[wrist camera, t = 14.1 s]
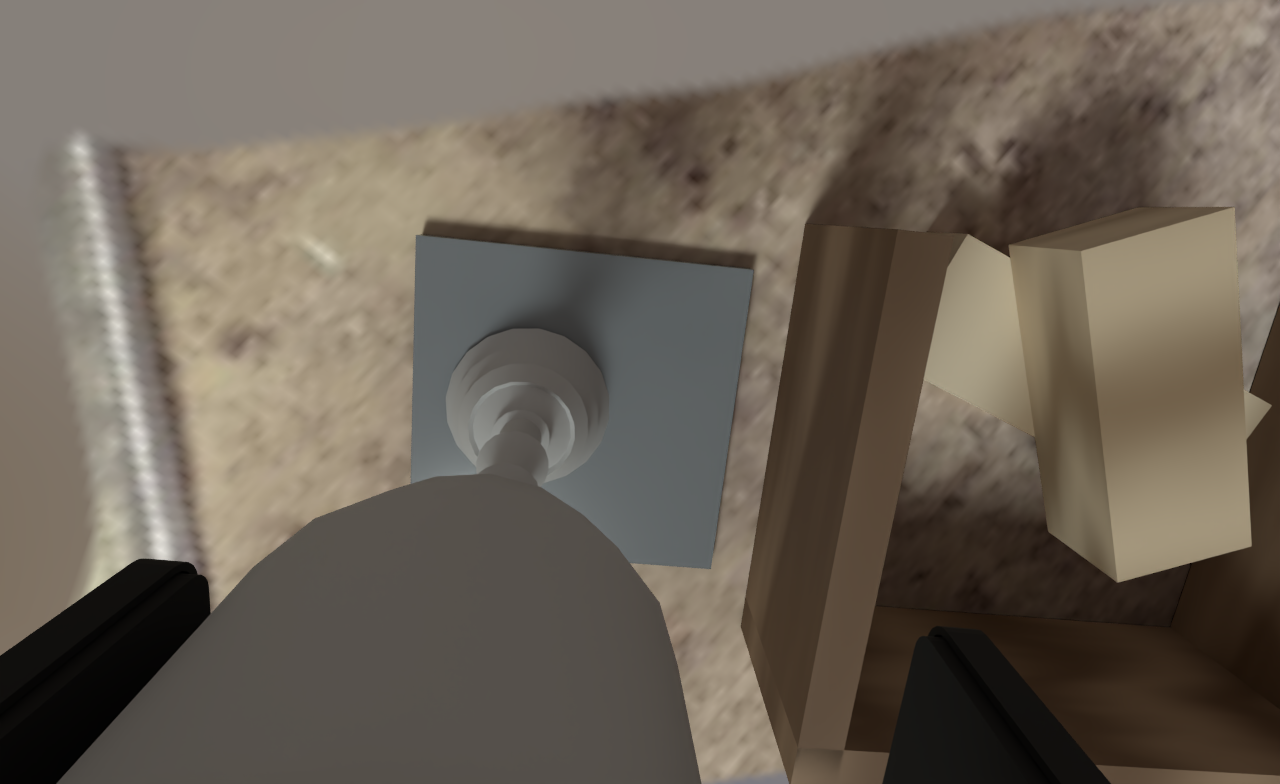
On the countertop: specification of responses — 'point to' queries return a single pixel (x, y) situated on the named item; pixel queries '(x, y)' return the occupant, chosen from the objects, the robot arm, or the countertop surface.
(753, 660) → the brown wooden u-shaped frame
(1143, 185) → the countertop surface
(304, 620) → the chalice
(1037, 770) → the robot arm
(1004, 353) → the offcut lower
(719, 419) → the slate tile
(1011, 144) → the countertop surface
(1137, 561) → the offcut upper
